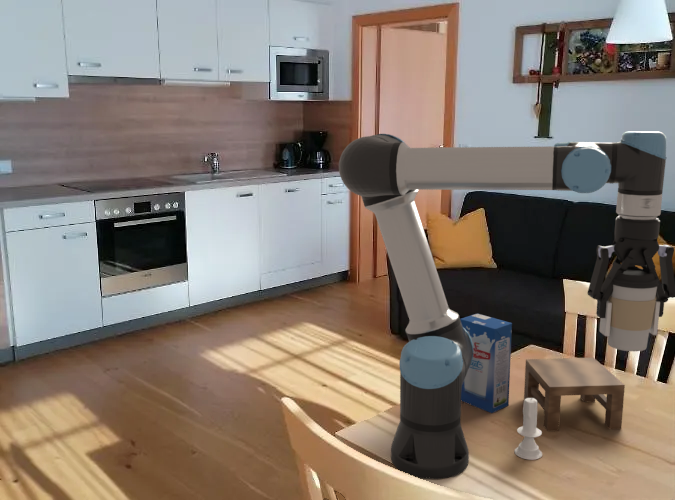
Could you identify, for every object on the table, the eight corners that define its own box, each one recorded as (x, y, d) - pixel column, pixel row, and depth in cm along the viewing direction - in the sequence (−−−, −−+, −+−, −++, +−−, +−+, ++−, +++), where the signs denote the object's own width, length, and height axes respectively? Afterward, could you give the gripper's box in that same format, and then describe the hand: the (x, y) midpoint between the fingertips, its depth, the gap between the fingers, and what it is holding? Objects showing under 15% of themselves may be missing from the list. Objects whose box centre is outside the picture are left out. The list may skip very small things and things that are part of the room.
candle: (547, 453, 133) (550, 397, 131) (532, 463, 130) (535, 405, 127) (524, 444, 137) (526, 389, 135) (509, 453, 134) (511, 397, 131)
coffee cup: (658, 355, 123) (665, 276, 120) (606, 351, 125) (612, 274, 122) (646, 338, 132) (653, 264, 129) (597, 336, 134) (603, 263, 131)
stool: (547, 431, 143) (549, 387, 141) (523, 399, 158) (525, 359, 156) (621, 428, 143) (624, 384, 141) (590, 397, 159) (593, 357, 157)
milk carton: (457, 399, 159) (459, 318, 155) (474, 392, 163) (477, 313, 159) (492, 413, 151) (495, 329, 147) (508, 405, 155) (512, 323, 151)
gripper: (589, 220, 119) (580, 341, 124) (706, 218, 120) (693, 338, 125) (573, 214, 127) (565, 328, 131) (683, 212, 128) (672, 325, 132)
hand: (627, 333), depth 128 cm, fingers closed on coffee cup, 9 cm apart
